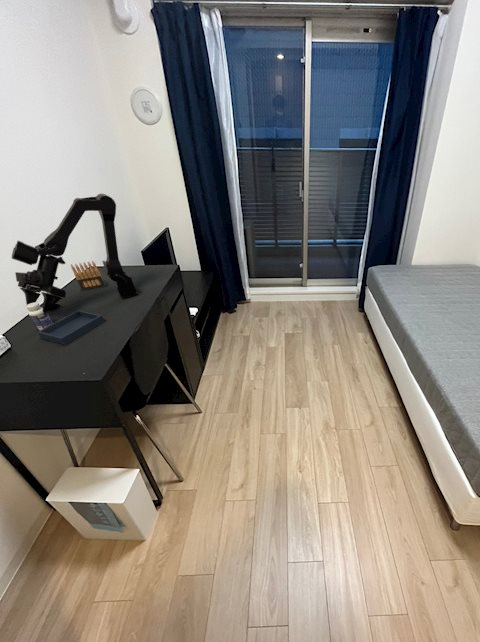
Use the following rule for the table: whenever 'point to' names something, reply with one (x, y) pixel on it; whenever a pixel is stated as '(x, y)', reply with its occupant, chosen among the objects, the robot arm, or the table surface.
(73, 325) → the tray
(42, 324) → the pill bottle
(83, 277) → the ammunition clip
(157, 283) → the table surface
